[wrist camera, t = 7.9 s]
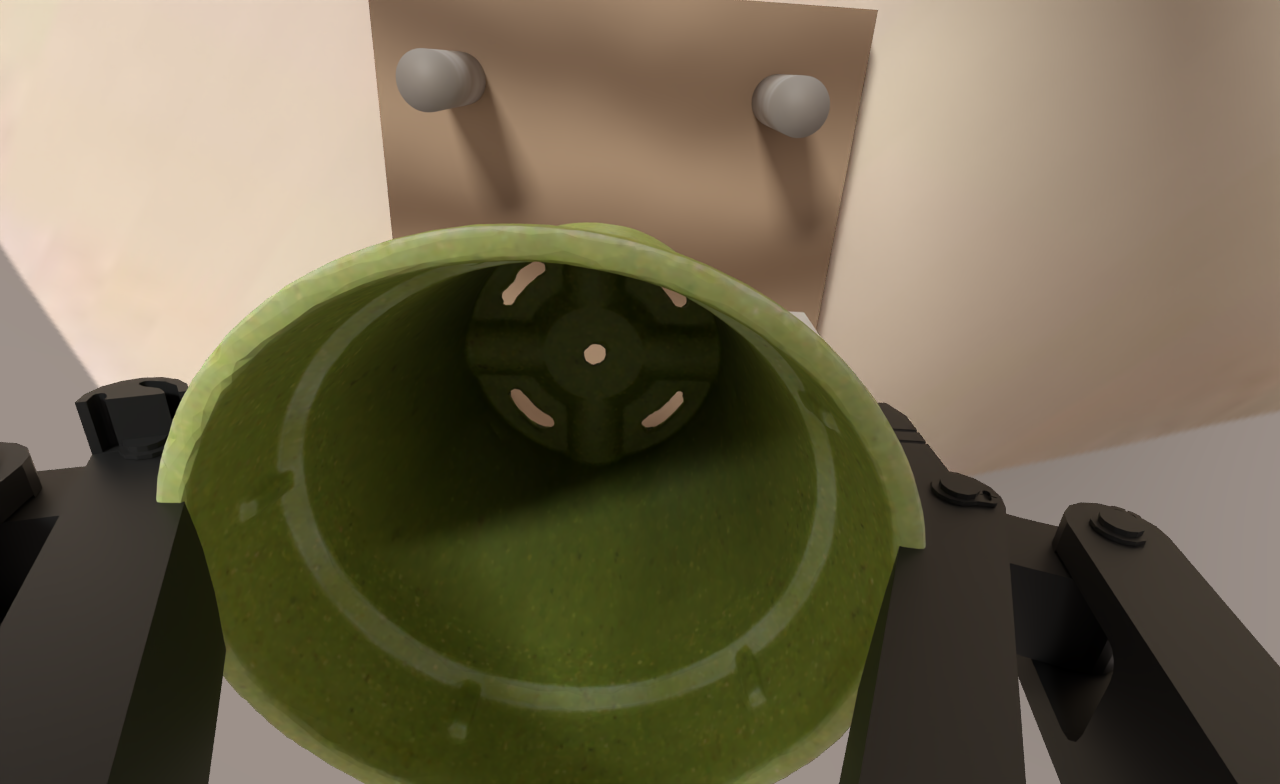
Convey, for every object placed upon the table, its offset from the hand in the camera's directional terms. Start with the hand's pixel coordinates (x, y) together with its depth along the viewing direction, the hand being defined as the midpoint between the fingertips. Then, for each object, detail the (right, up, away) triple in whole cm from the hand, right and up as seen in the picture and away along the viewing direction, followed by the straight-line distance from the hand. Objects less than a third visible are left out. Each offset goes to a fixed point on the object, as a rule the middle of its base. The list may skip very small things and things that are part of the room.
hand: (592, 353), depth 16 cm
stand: (0, +5, +10) cm, 11 cm away
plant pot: (0, 0, 0) cm, 0 cm away
